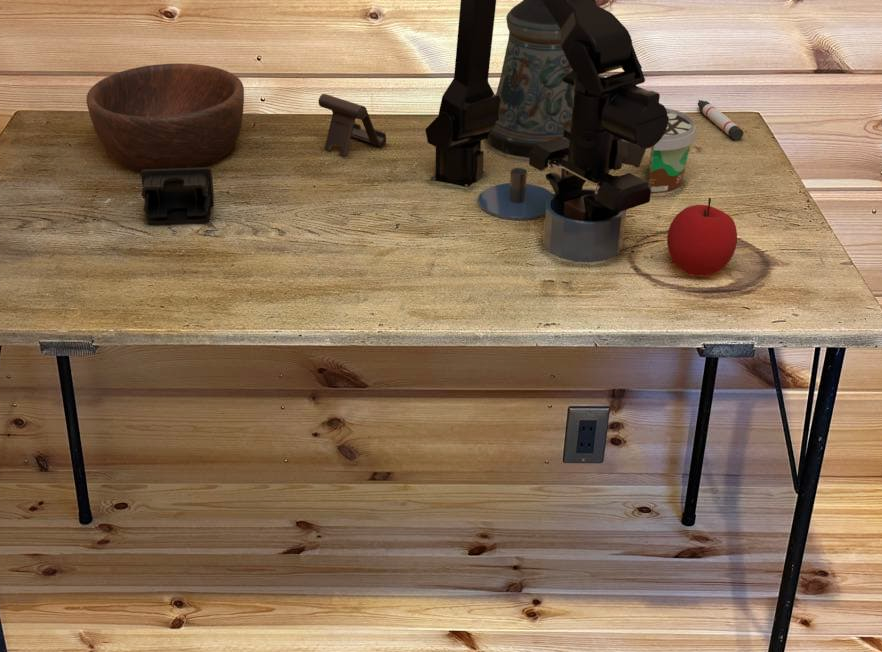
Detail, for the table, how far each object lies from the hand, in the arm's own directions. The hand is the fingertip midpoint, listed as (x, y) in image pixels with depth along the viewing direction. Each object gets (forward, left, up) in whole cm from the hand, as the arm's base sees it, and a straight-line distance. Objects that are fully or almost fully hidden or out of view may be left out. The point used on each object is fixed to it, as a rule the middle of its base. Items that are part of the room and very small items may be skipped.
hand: (583, 230), depth 164 cm
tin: (0, 0, -2) cm, 3 cm away
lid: (-13, +8, -2) cm, 15 cm away
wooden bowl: (-72, +3, -3) cm, 72 cm away
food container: (+5, +25, -3) cm, 26 cm away
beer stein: (-19, +33, -3) cm, 38 cm away
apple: (+16, +1, -3) cm, 16 cm away
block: (0, 0, -1) cm, 1 cm away
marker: (+5, +52, -3) cm, 53 cm away
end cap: (-57, -16, -3) cm, 59 cm away
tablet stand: (-46, +17, -3) cm, 49 cm away
